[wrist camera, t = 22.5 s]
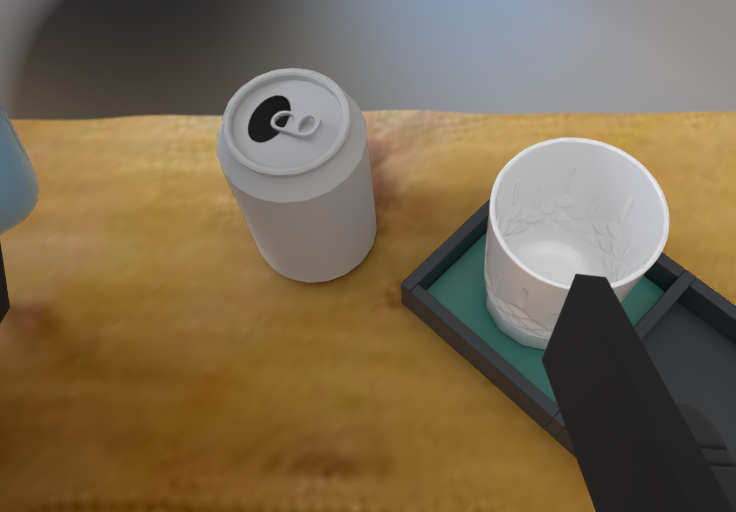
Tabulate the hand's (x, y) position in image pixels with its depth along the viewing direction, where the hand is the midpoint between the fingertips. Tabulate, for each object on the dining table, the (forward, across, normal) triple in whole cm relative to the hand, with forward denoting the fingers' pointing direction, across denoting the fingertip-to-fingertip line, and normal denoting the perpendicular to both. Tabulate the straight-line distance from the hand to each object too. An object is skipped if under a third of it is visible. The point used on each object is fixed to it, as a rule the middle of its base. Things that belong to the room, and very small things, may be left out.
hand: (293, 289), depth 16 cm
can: (+24, +2, -14) cm, 28 cm away
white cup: (+19, +15, -13) cm, 27 cm away
